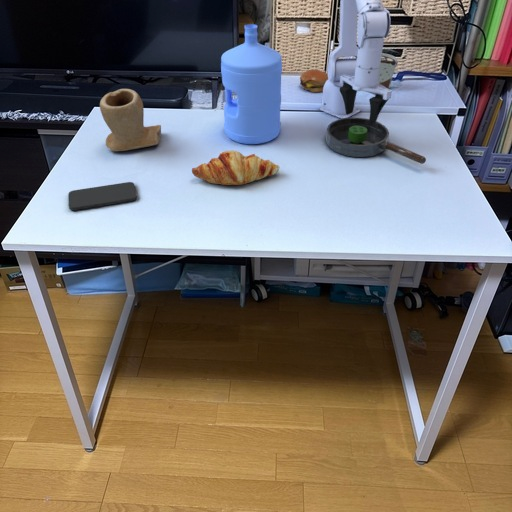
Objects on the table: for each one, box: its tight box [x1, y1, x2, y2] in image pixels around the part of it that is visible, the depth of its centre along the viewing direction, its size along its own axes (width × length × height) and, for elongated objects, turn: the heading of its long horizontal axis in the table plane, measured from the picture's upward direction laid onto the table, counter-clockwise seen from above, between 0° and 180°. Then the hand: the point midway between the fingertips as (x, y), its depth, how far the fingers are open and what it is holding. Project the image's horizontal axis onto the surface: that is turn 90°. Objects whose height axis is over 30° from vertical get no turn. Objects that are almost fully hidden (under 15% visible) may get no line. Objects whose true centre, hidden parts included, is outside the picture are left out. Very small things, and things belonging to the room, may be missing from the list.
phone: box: [67, 181, 138, 211], centre depth 114 cm, size 7×1×15 cm
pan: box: [325, 116, 390, 158], centre depth 132 cm, size 16×16×4 cm
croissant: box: [191, 150, 281, 186], centre depth 119 cm, size 21×10×8 cm, turn 98°
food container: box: [378, 52, 399, 89], centre depth 158 cm, size 12×6×10 cm, turn 84°
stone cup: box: [99, 88, 162, 152], centre depth 128 cm, size 15×12×15 cm
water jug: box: [220, 23, 283, 145], centre depth 129 cm, size 16×16×28 cm
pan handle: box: [380, 141, 427, 165], centre depth 123 cm, size 12×2×2 cm, turn 43°
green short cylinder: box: [348, 126, 367, 144], centre depth 132 cm, size 5×5×4 cm
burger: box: [299, 69, 328, 93], centre depth 160 cm, size 10×9×5 cm
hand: (360, 117), depth 129 cm, fingers open, 7 cm apart
